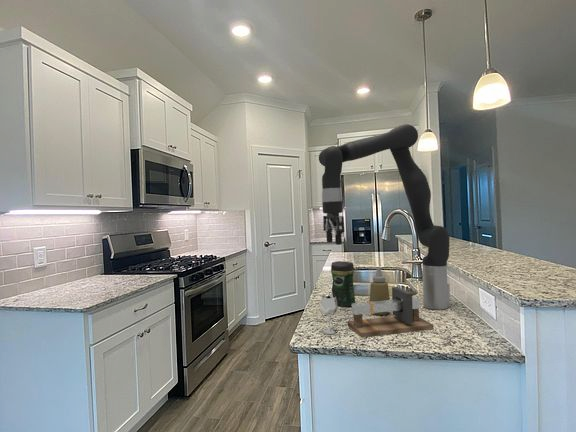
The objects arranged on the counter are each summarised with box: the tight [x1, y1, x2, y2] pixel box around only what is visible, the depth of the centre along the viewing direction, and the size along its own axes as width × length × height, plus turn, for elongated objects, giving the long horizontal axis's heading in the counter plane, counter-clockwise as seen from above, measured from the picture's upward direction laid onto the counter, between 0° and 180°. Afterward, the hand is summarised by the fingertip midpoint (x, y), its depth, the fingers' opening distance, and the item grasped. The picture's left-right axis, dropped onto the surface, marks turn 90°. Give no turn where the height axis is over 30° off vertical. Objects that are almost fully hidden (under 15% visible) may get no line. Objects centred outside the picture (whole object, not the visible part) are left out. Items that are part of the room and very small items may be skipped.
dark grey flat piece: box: [391, 286, 413, 324], centre depth 121 cm, size 2×10×10 cm, turn 12°
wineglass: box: [319, 294, 339, 335], centre depth 118 cm, size 6×6×12 cm
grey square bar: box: [351, 297, 421, 315], centre depth 120 cm, size 24×4×4 cm, turn 102°
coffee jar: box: [330, 260, 356, 307], centre depth 149 cm, size 10×8×19 cm
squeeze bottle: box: [369, 266, 391, 316], centre depth 135 cm, size 8×8×18 cm
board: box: [347, 308, 435, 338], centre depth 120 cm, size 26×12×6 cm, turn 102°
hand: (334, 243), depth 131 cm, fingers open, 8 cm apart
